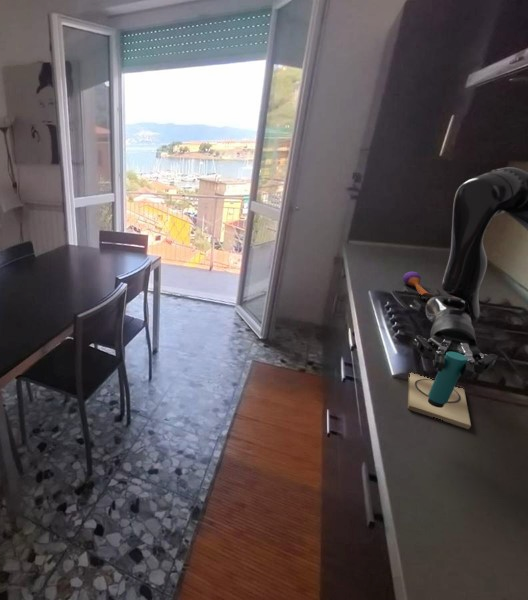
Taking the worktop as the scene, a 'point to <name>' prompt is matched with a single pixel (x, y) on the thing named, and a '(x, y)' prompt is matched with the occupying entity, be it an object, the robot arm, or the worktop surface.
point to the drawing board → (450, 412)
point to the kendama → (414, 282)
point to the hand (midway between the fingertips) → (453, 370)
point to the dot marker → (446, 379)
